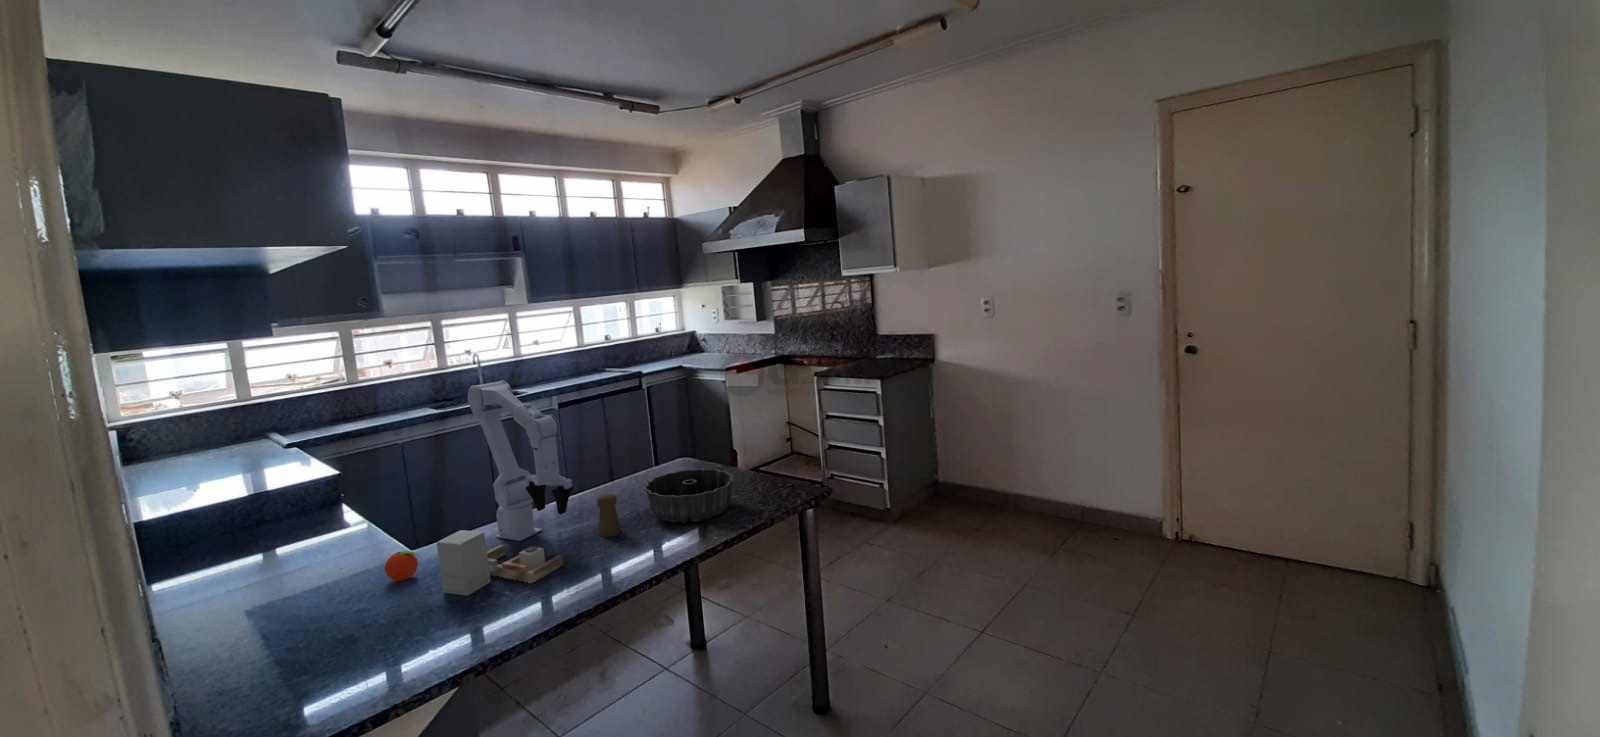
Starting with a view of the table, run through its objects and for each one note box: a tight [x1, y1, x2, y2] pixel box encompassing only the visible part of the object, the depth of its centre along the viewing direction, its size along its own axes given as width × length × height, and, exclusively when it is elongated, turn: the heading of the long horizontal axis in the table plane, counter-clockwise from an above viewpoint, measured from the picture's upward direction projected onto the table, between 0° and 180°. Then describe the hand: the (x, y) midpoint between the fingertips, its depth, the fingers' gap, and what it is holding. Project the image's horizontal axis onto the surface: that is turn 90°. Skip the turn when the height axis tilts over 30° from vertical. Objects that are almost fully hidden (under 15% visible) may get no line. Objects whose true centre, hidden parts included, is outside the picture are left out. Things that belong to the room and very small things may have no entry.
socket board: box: [487, 544, 564, 584], centre depth 160 cm, size 21×10×4 cm, turn 66°
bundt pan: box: [643, 468, 734, 524], centre depth 192 cm, size 26×26×10 cm
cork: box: [596, 493, 622, 538], centre depth 180 cm, size 6×6×11 cm
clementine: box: [384, 550, 422, 582], centre depth 157 cm, size 8×7×7 cm
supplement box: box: [436, 529, 491, 597], centre depth 151 cm, size 7×7×13 cm
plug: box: [518, 545, 546, 571], centre depth 159 cm, size 4×4×6 cm
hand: (551, 511), depth 171 cm, fingers open, 7 cm apart
